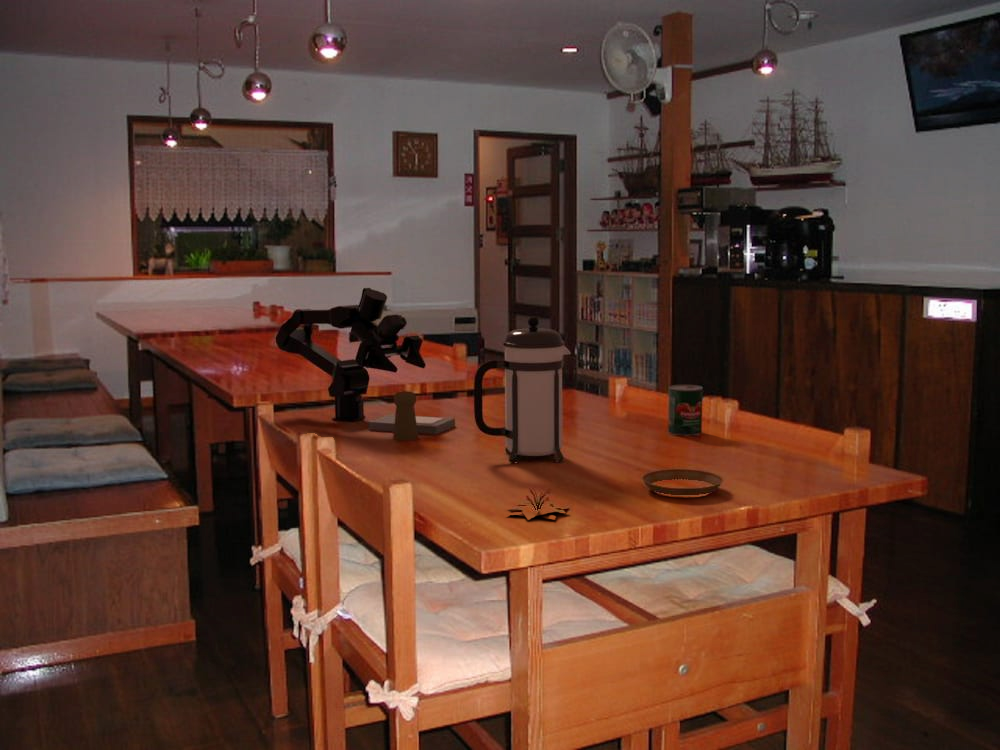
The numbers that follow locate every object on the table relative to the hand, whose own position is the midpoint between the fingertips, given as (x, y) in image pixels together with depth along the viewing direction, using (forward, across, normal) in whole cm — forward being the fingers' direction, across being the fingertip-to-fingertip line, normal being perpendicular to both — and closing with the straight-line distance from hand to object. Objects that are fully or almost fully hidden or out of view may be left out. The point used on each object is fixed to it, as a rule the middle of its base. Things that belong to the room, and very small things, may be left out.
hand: (410, 368), depth 242 cm
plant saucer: (+79, -7, -22) cm, 82 cm away
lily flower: (+69, -36, -17) cm, 80 cm away
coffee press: (+43, -5, -5) cm, 44 cm away
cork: (+12, -7, +11) cm, 18 cm away
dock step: (+5, +2, +14) cm, 15 cm away
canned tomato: (+54, +39, -10) cm, 67 cm away
